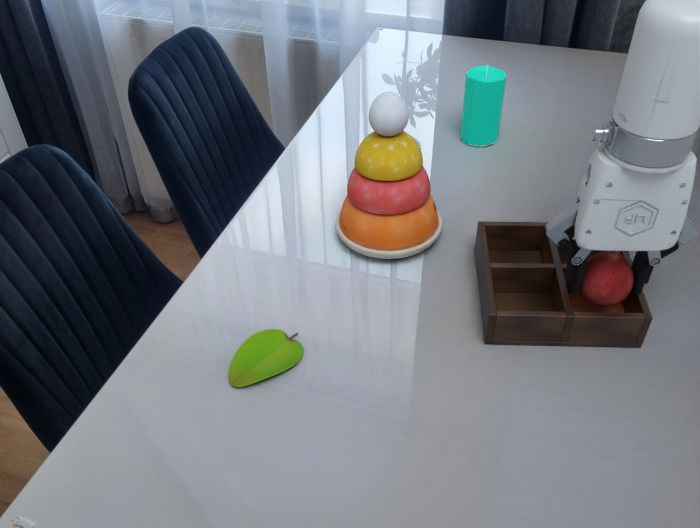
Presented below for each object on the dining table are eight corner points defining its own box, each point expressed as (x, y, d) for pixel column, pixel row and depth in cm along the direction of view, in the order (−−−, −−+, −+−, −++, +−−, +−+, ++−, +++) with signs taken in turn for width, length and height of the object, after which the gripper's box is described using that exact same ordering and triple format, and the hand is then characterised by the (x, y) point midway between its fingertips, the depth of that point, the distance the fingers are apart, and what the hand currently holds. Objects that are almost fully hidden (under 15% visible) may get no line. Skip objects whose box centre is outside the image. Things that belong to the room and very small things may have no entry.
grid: (609, 251, 88) (618, 222, 85) (641, 347, 76) (652, 318, 73) (474, 250, 90) (478, 221, 86) (484, 344, 78) (489, 315, 74)
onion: (563, 309, 78) (578, 254, 72) (582, 281, 81) (598, 226, 75) (613, 328, 75) (632, 272, 70) (631, 299, 79) (651, 243, 73)
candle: (483, 151, 107) (493, 76, 98) (452, 139, 110) (459, 64, 101) (505, 136, 110) (516, 62, 101) (474, 125, 113) (482, 51, 104)
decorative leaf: (311, 377, 75) (311, 371, 75) (231, 391, 74) (230, 386, 73) (296, 327, 80) (296, 321, 79) (221, 339, 78) (220, 334, 78)
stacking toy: (455, 257, 89) (470, 116, 74) (348, 274, 87) (342, 133, 73) (424, 197, 98) (432, 63, 84) (327, 211, 96) (319, 76, 82)
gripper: (561, 159, 61) (529, 307, 74) (759, 160, 60) (692, 310, 73) (549, 119, 66) (521, 263, 79) (731, 118, 65) (673, 265, 78)
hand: (603, 284), depth 76 cm, fingers closed on onion, 6 cm apart
